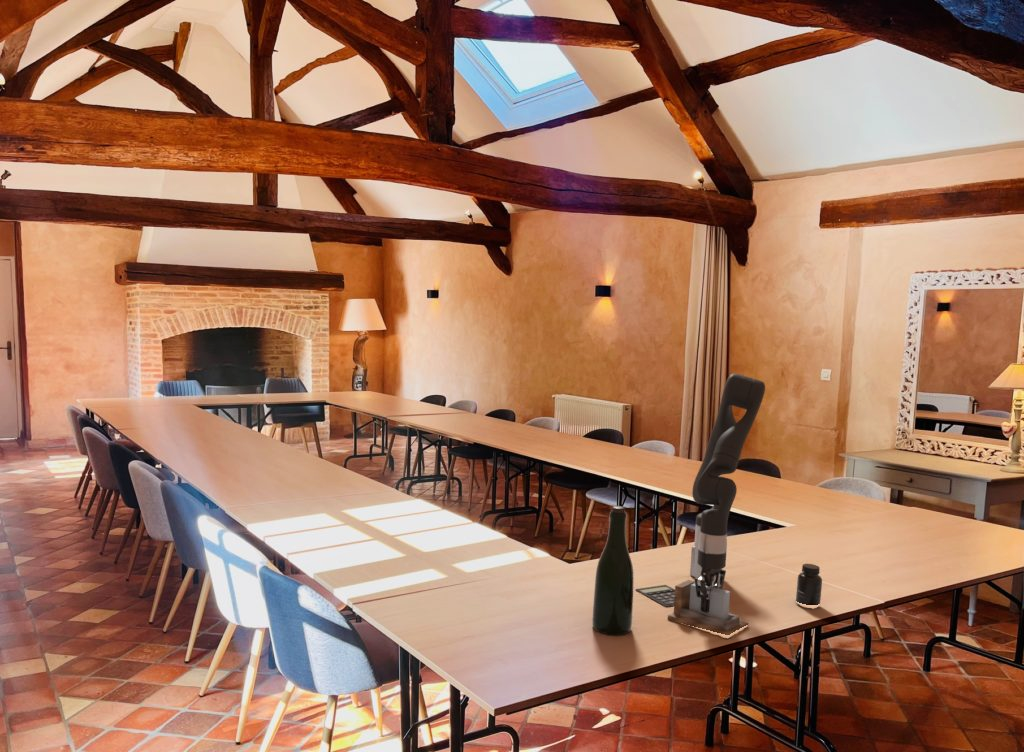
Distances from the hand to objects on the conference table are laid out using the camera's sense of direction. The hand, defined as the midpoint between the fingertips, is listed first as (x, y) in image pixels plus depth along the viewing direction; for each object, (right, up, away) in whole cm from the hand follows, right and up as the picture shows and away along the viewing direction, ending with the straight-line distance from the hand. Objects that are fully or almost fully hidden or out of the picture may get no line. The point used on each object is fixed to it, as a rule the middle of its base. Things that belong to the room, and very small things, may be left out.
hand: (708, 609), depth 213 cm
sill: (0, -4, 0) cm, 4 cm away
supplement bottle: (+34, -4, +18) cm, 39 cm away
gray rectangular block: (0, -2, 0) cm, 2 cm away
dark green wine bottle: (-27, -3, -6) cm, 28 cm away
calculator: (-8, -3, +20) cm, 22 cm away
